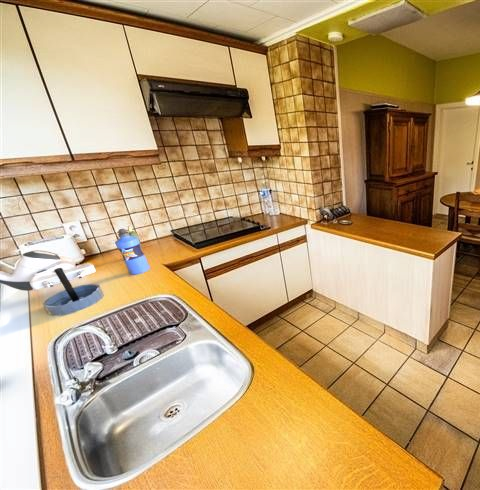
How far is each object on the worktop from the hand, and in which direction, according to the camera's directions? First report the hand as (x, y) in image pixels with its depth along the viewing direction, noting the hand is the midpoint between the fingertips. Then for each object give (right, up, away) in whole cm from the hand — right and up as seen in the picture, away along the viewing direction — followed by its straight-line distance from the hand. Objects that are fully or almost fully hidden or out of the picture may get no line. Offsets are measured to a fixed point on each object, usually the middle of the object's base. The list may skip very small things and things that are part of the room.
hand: (65, 280), depth 118 cm
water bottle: (+6, +1, +31) cm, 32 cm away
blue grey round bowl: (+4, -12, +2) cm, 12 cm away
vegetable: (-10, +9, +52) cm, 54 cm away
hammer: (+4, -11, +2) cm, 11 cm away
